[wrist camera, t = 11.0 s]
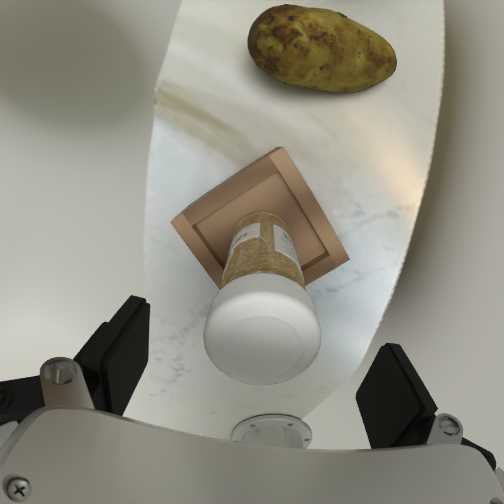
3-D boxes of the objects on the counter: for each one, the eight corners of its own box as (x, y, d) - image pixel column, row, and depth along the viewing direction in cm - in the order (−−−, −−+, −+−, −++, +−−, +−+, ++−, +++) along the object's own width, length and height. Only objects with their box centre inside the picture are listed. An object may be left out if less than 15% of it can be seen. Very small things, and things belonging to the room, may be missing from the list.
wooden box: (330, 233, 29) (349, 259, 23) (247, 283, 31) (243, 319, 25) (277, 146, 27) (283, 146, 20) (190, 204, 29) (170, 221, 22)
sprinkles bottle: (230, 212, 23) (192, 297, 10) (290, 208, 22) (326, 290, 10) (235, 268, 24) (211, 390, 12) (292, 264, 24) (320, 385, 11)
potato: (368, 125, 25) (405, 120, 18) (241, 79, 24) (233, 55, 17) (389, 56, 23) (426, 34, 15) (267, 10, 22) (269, -30, 14)
